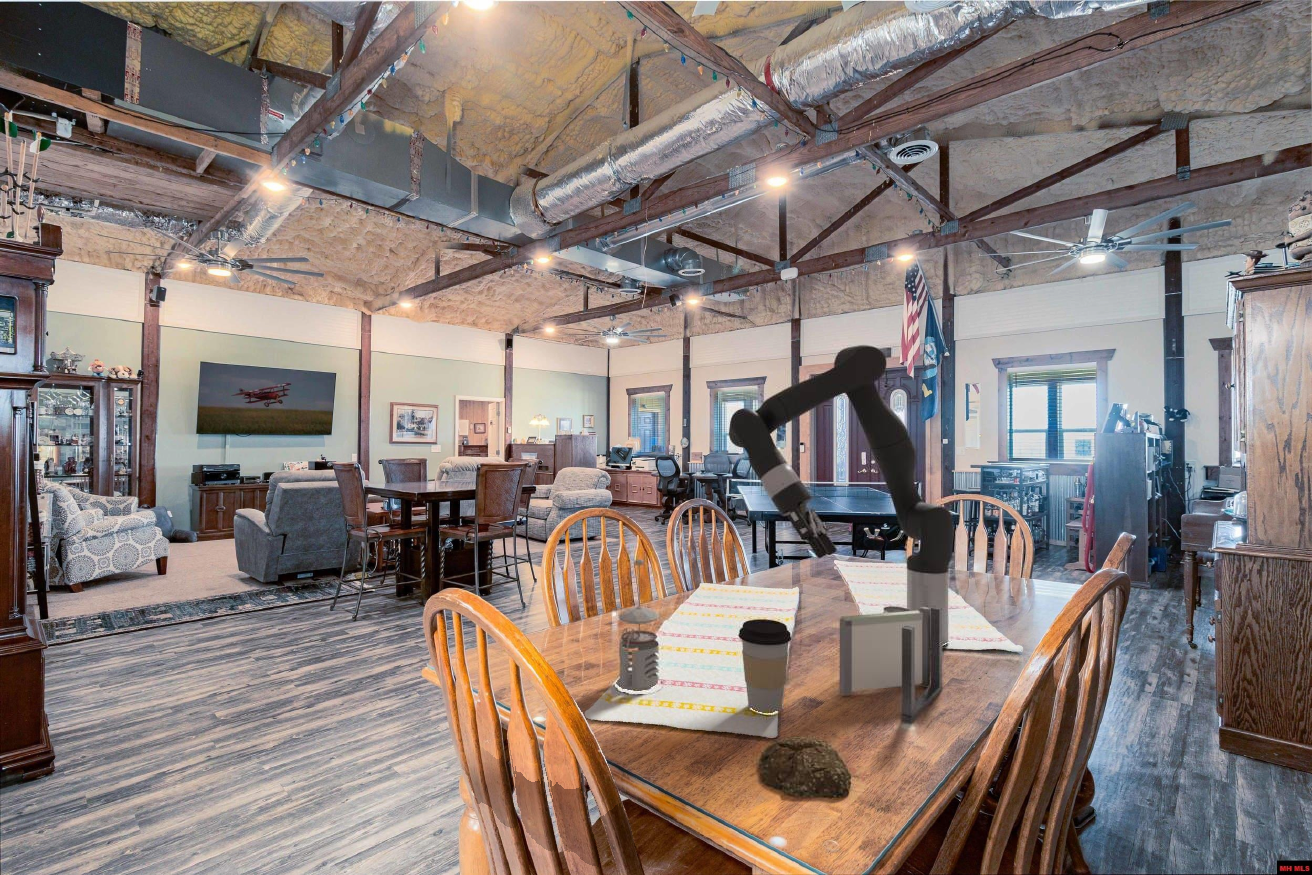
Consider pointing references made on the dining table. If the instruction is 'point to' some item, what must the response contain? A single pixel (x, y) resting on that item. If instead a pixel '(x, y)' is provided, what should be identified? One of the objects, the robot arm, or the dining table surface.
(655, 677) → the french press
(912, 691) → the gate frame
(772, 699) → the coffee cup
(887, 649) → the gate
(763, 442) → the robot arm
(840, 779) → the bread roll
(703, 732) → the dining table surface
